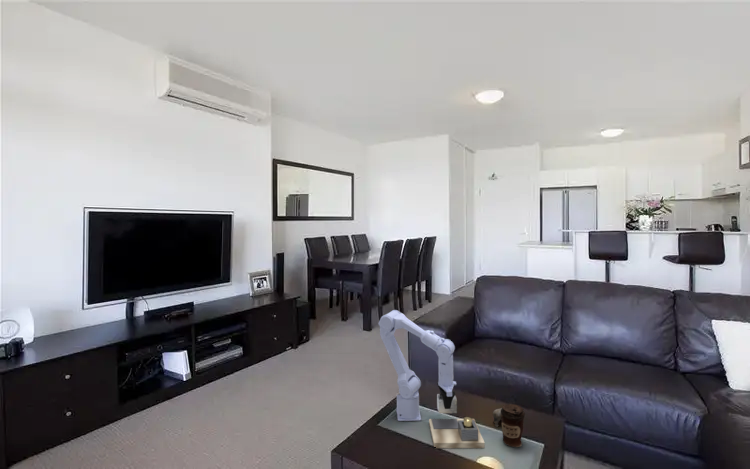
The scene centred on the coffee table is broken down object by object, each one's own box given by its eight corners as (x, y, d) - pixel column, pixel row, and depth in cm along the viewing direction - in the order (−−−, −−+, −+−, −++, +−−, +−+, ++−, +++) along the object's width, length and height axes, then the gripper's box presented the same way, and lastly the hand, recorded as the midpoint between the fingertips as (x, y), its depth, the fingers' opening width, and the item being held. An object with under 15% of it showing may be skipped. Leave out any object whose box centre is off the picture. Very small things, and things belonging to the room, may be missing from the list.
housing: (438, 413, 143) (438, 399, 142) (437, 407, 147) (437, 393, 147) (456, 413, 143) (456, 399, 142) (454, 406, 147) (454, 393, 147)
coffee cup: (522, 453, 128) (522, 417, 127) (497, 445, 132) (497, 410, 131) (526, 439, 135) (526, 405, 134) (503, 432, 140) (503, 400, 139)
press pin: (464, 432, 133) (464, 421, 133) (462, 427, 136) (462, 417, 136) (472, 432, 133) (472, 421, 133) (471, 427, 136) (470, 417, 136)
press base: (434, 448, 132) (434, 431, 131) (429, 423, 146) (428, 409, 146) (484, 447, 131) (484, 431, 131) (474, 423, 146) (474, 408, 146)
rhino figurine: (521, 418, 149) (521, 403, 149) (497, 428, 143) (497, 413, 142) (512, 413, 153) (512, 399, 153) (489, 423, 146) (489, 409, 146)
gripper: (460, 380, 136) (460, 415, 137) (452, 363, 151) (452, 395, 152) (441, 380, 137) (441, 415, 137) (435, 364, 151) (435, 395, 152)
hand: (446, 405), depth 145 cm, fingers closed on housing, 4 cm apart
